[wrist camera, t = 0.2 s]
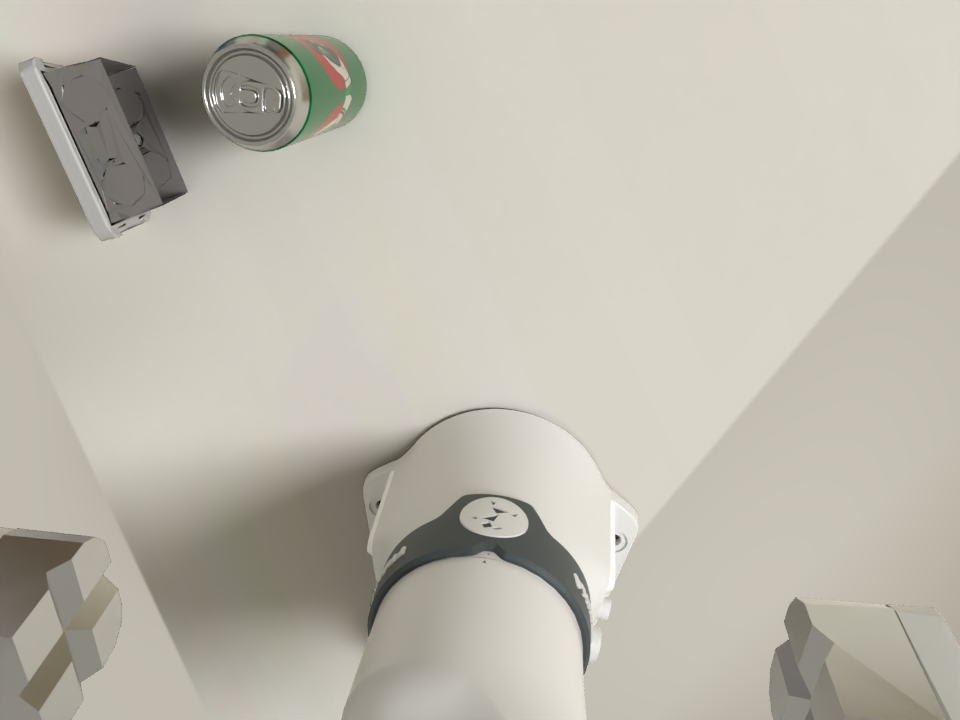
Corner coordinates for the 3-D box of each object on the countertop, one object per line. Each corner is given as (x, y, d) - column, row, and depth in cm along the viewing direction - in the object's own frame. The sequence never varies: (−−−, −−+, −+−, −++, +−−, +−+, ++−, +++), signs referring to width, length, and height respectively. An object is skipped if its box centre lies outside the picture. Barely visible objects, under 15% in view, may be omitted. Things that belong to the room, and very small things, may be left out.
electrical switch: (74, 70, 48) (-18, 72, 39) (154, 43, 47) (77, 39, 39) (142, 221, 51) (69, 254, 42) (217, 197, 50) (160, 226, 42)
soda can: (286, 28, 46) (193, 24, 35) (373, 43, 46) (308, 44, 34) (280, 120, 48) (191, 144, 37) (364, 135, 47) (300, 164, 36)
